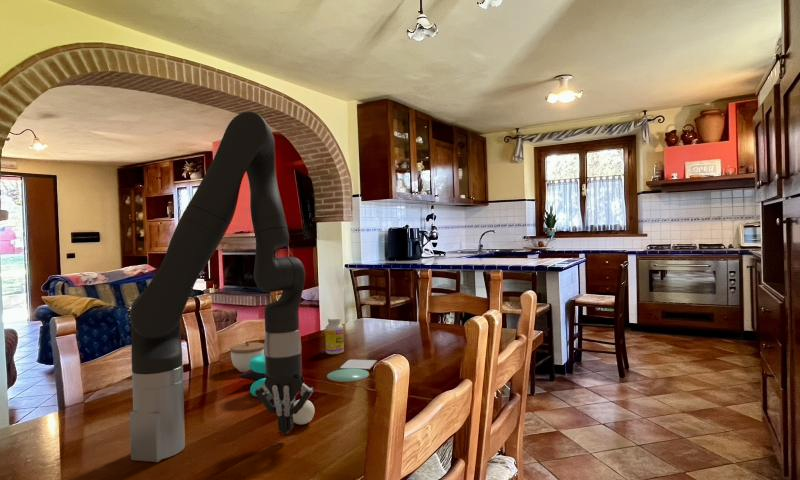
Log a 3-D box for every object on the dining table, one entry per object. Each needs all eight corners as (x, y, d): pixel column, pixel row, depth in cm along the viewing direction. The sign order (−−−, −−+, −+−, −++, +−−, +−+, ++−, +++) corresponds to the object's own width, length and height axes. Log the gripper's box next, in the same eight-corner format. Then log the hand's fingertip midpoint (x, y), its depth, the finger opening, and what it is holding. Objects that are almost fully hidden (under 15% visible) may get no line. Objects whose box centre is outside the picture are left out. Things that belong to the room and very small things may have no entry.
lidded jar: (236, 376, 146) (235, 346, 146) (226, 368, 155) (226, 341, 155) (269, 369, 152) (268, 341, 152) (258, 363, 161) (257, 336, 161)
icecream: (248, 370, 130) (291, 363, 141) (234, 360, 134) (278, 353, 146) (243, 393, 130) (287, 384, 142) (230, 382, 135) (273, 374, 146)
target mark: (362, 382, 136) (362, 382, 136) (320, 381, 139) (320, 380, 139) (373, 369, 149) (373, 369, 149) (335, 368, 151) (335, 368, 151)
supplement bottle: (336, 355, 168) (335, 320, 168) (322, 353, 172) (321, 319, 172) (347, 351, 174) (346, 317, 174) (333, 349, 177) (332, 316, 177)
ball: (309, 429, 104) (308, 404, 104) (286, 427, 105) (285, 403, 105) (318, 419, 110) (317, 395, 110) (296, 418, 111) (295, 395, 111)
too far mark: (369, 369, 150) (369, 368, 150) (339, 368, 152) (339, 367, 152) (376, 360, 160) (376, 360, 160) (348, 360, 161) (348, 359, 161)
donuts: (241, 359, 128) (270, 351, 136) (242, 395, 128) (271, 385, 136) (265, 364, 122) (293, 355, 131) (266, 401, 123) (294, 390, 131)
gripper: (245, 355, 96) (248, 438, 96) (306, 356, 94) (309, 441, 94) (262, 346, 103) (265, 423, 104) (318, 347, 101) (321, 425, 101)
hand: (286, 431), depth 99 cm, fingers closed
